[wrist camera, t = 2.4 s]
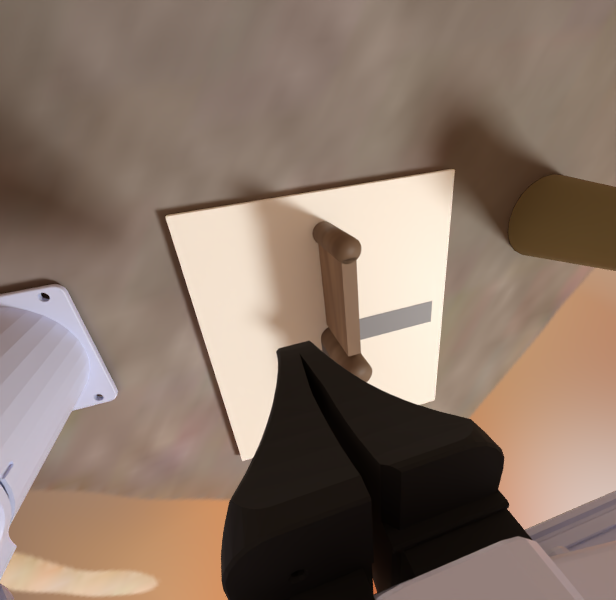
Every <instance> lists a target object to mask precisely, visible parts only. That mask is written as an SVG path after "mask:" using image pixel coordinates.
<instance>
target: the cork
mask: <svg viewBox="0 0 616 600" xmlns="http://www.w3.org/2000/svg"><path fill="white" fill-rule="evenodd" d="M508 236H509V241H510V244H511V245H512V247H513V248H514V250H515V251H517V252H518V253H520V254H522V255H527V256H533V257H538V258H544V259H550V260H556V261H562V262H567V263H573V264H579V265H585V266H590V267H596V268H602V269H608V270H613V271H616V187H613V186H609V185H604V184H600V183H595V182H591V181H586V180H581V179H577V178H572V177H568V176H563V175H556V174H552V175H549V176H545V177H542V178H541V179H539V180H538V181H536V182H534V183H533V184H531V186H530V187H529V188H528V189H527V190H526V191H525V192H524V193H523V194H522V195H521V197H520V198H519V200H518V202H517V203H516V205H515V207H514V209H513V211H512V214H511V217H510V220H509V228H508Z"/></svg>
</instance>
